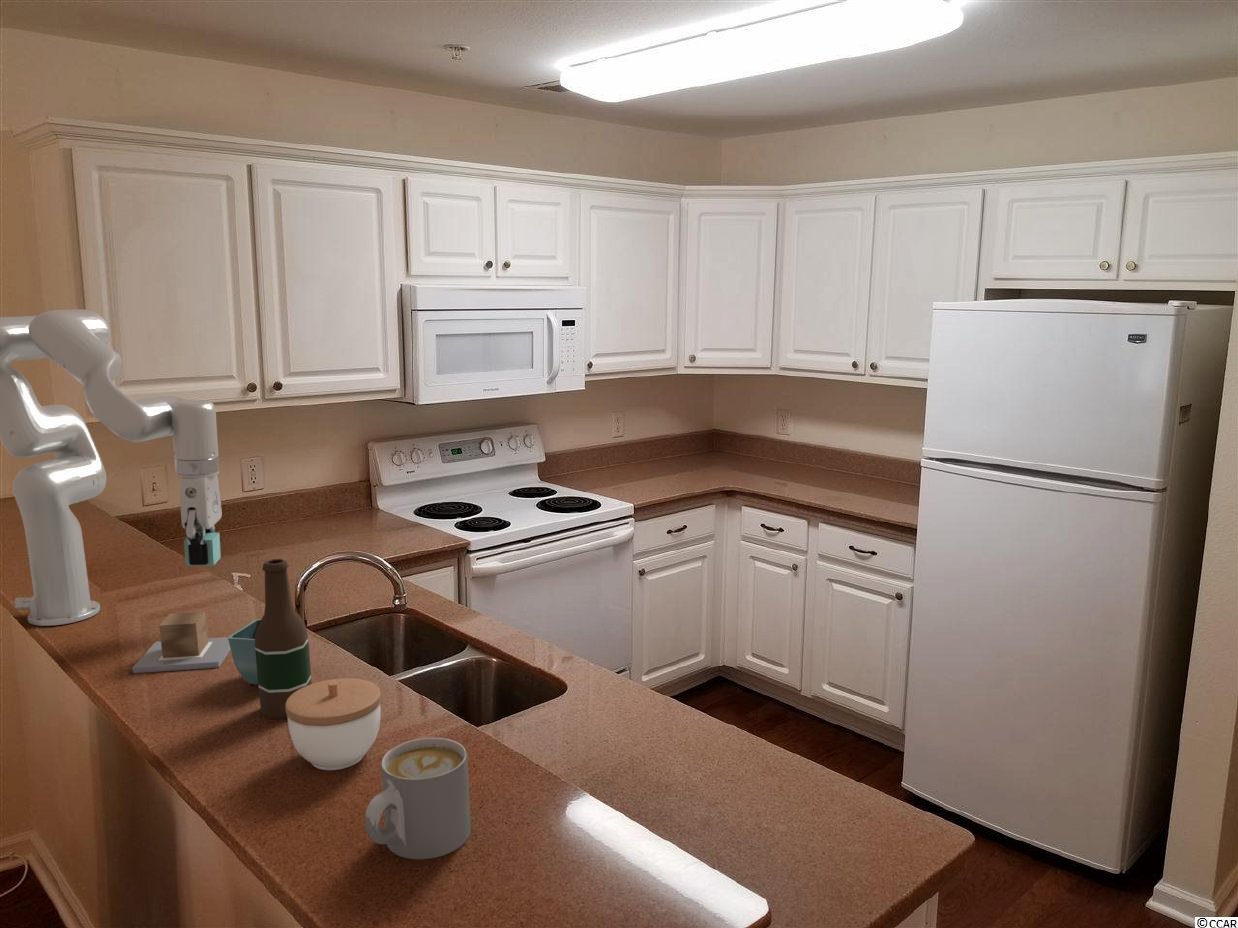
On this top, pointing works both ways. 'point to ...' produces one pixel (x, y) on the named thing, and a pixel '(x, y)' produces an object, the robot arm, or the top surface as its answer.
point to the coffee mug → (422, 799)
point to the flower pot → (245, 651)
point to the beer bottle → (280, 644)
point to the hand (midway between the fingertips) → (203, 558)
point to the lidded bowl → (334, 721)
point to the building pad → (184, 658)
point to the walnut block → (183, 634)
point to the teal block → (212, 549)
